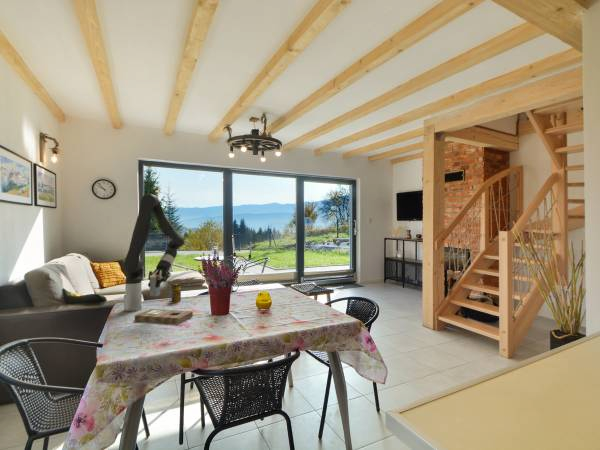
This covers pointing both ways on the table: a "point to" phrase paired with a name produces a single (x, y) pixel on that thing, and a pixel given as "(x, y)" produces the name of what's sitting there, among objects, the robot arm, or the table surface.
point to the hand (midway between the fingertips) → (152, 286)
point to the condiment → (176, 293)
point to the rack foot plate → (164, 316)
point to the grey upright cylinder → (153, 281)
